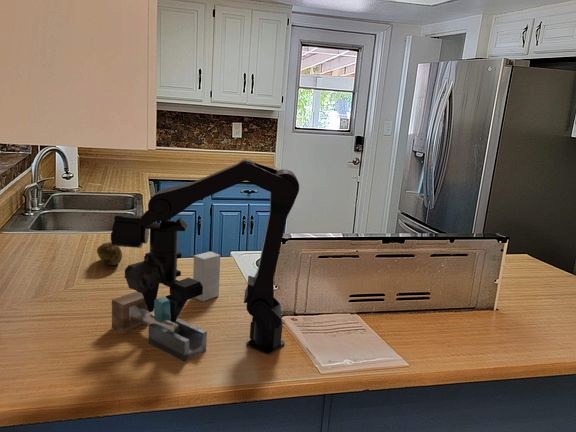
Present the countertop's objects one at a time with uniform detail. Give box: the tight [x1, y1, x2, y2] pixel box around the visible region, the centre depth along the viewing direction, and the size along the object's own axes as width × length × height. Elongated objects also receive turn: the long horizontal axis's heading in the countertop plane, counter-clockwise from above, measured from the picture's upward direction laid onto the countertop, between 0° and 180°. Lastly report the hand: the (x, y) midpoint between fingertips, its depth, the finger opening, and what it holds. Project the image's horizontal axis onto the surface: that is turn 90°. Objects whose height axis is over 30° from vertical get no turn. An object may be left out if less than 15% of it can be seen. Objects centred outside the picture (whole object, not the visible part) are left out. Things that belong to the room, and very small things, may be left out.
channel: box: [147, 317, 208, 363], centre depth 105 cm, size 11×6×4 cm, turn 56°
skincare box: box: [192, 251, 221, 302], centre depth 132 cm, size 6×4×12 cm
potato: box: [96, 241, 123, 266], centre depth 149 cm, size 8×13×8 cm, turn 4°
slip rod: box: [129, 296, 180, 334], centre depth 109 cm, size 15×3×8 cm, turn 56°
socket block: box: [111, 290, 148, 335], centre depth 113 cm, size 4×8×7 cm, turn 146°
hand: (162, 316), depth 107 cm, fingers open, 7 cm apart
